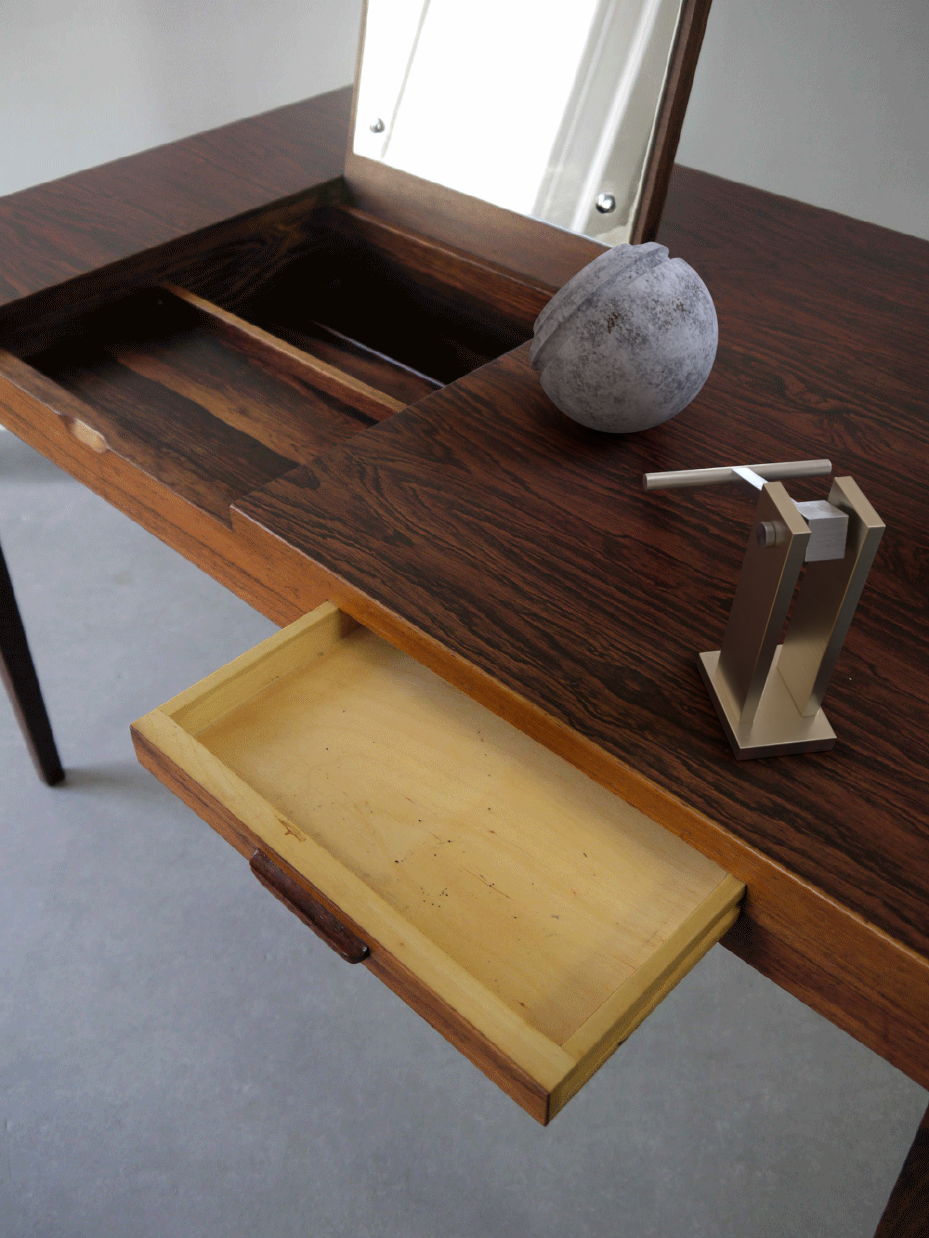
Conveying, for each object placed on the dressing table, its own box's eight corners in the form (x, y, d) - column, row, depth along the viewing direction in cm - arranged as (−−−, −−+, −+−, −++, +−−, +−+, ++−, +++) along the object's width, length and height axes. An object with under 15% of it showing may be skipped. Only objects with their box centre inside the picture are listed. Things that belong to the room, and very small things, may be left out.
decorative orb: (599, 357, 97) (617, 193, 87) (734, 416, 90) (772, 246, 80) (492, 421, 89) (498, 249, 79) (632, 492, 82) (659, 314, 72)
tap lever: (641, 498, 66) (642, 461, 66) (822, 483, 68) (826, 446, 67) (714, 570, 55) (717, 527, 54) (931, 551, 56) (938, 507, 55)
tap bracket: (695, 665, 68) (742, 463, 57) (783, 656, 69) (846, 455, 58) (736, 761, 63) (797, 557, 52) (832, 750, 63) (912, 547, 52)
